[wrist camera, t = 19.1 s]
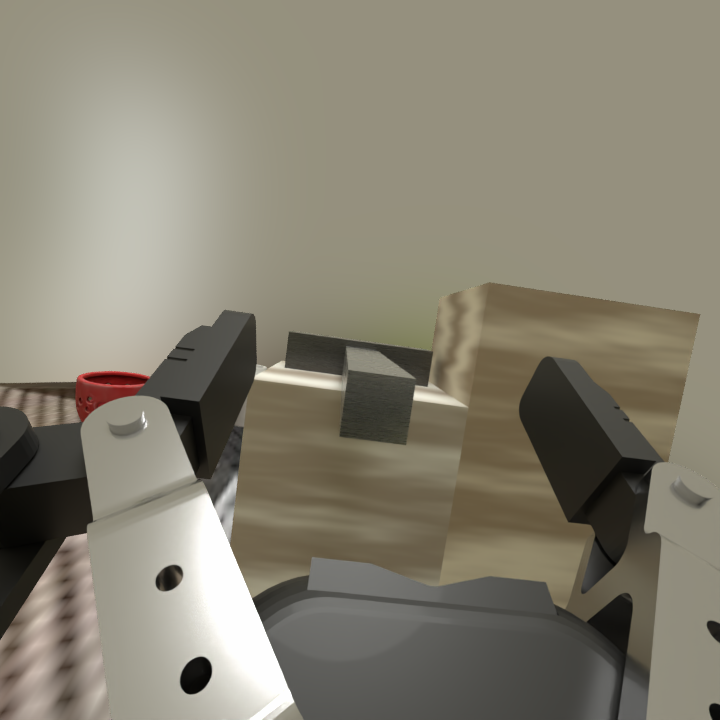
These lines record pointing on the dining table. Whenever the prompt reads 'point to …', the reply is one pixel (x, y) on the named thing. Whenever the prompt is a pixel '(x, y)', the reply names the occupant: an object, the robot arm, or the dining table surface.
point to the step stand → (449, 446)
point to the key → (366, 381)
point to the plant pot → (105, 389)
